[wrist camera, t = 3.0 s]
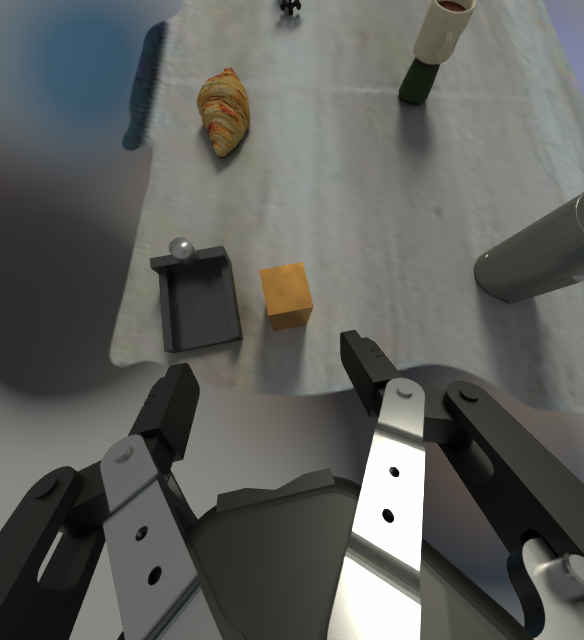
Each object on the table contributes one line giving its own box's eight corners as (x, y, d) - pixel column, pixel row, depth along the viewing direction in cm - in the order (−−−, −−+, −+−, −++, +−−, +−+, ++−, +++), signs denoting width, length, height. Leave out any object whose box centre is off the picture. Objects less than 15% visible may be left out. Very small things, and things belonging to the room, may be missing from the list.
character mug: (431, 116, 47) (482, 22, 35) (397, 114, 47) (437, 20, 35) (425, 79, 50) (471, -21, 37) (393, 78, 50) (429, -22, 37)
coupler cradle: (242, 339, 36) (231, 330, 29) (173, 352, 35) (144, 347, 28) (230, 256, 39) (217, 231, 32) (166, 267, 38) (139, 244, 31)
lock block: (306, 324, 36) (313, 306, 27) (273, 331, 36) (268, 315, 26) (298, 289, 38) (302, 260, 28) (266, 295, 37) (259, 268, 28)
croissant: (241, 178, 47) (253, 146, 40) (189, 156, 42) (193, 116, 36) (246, 101, 52) (258, 61, 45) (200, 74, 47) (205, 24, 40)
